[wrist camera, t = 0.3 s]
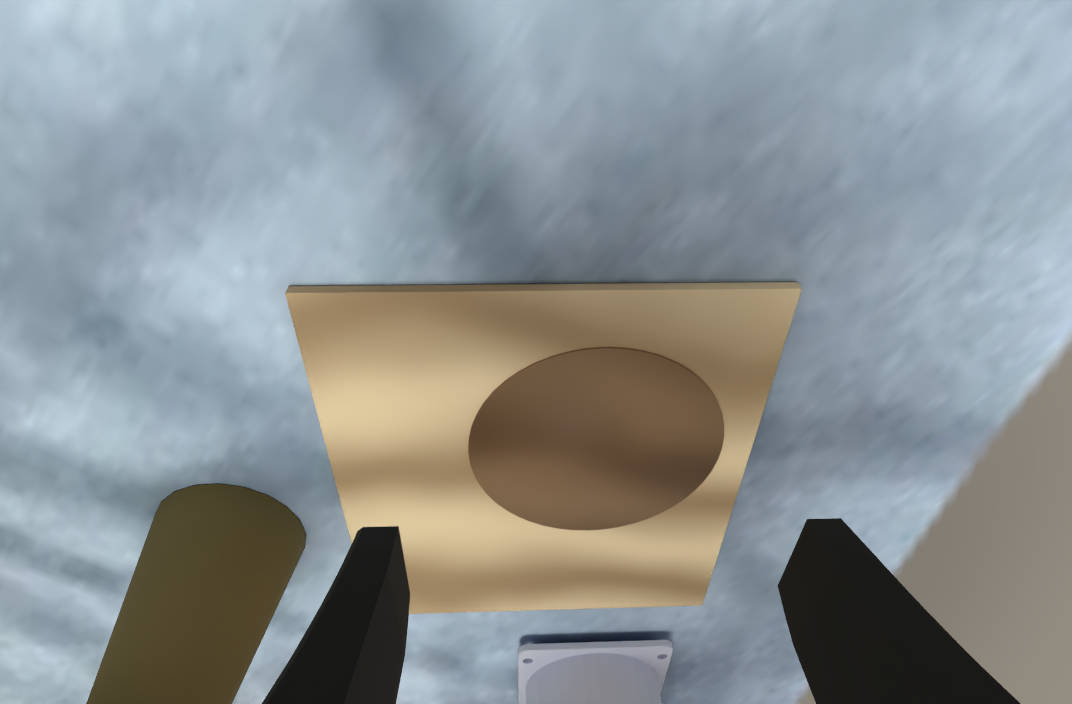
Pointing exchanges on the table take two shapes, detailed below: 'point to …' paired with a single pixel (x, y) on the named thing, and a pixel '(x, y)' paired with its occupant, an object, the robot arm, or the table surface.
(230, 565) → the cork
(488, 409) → the mat
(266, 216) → the table surface
